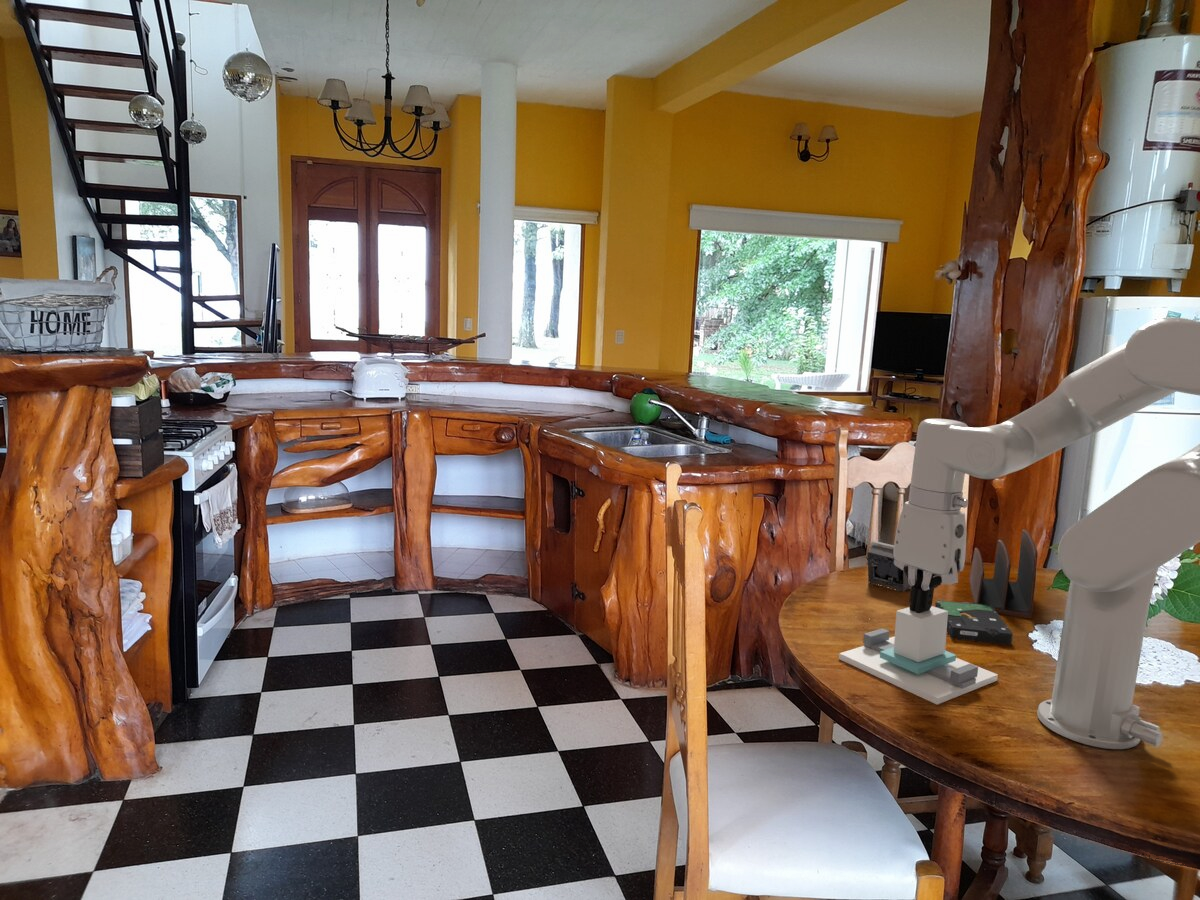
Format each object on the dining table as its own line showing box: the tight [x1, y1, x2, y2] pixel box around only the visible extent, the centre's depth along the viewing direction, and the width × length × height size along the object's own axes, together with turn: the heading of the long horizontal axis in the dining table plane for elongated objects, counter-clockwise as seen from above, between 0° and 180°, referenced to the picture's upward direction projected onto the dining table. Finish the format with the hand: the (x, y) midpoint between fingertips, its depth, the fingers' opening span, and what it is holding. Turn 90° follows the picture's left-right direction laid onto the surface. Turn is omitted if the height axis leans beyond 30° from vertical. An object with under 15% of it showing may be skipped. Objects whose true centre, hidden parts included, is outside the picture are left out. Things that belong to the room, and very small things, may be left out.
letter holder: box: [968, 529, 1038, 619], centre depth 167 cm, size 10×20×14 cm, turn 159°
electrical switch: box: [866, 540, 911, 593], centre depth 172 cm, size 9×5×9 cm, turn 47°
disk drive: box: [934, 599, 1014, 646], centre depth 152 cm, size 10×3×15 cm
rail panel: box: [838, 627, 999, 705], centre depth 132 cm, size 18×16×3 cm
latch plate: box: [880, 647, 957, 674], centre depth 132 cm, size 7×10×1 cm
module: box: [894, 605, 948, 662], centre depth 132 cm, size 5×7×7 cm
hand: (919, 610), depth 131 cm, fingers closed
